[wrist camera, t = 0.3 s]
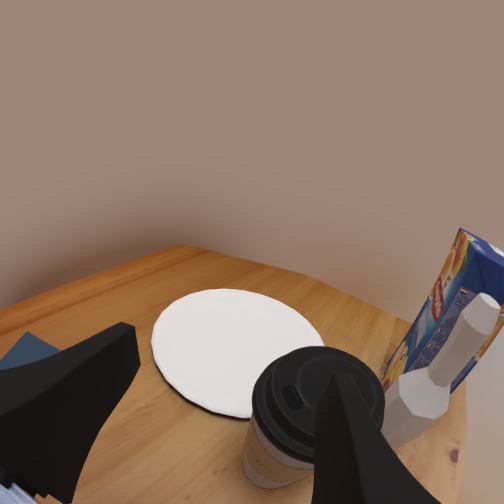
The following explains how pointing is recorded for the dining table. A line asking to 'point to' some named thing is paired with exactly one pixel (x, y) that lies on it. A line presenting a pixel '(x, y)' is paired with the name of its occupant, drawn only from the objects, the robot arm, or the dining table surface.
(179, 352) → the plate
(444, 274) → the juice carton
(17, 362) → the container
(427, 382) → the low poly bottle
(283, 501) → the dining table surface
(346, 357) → the coffee cup
